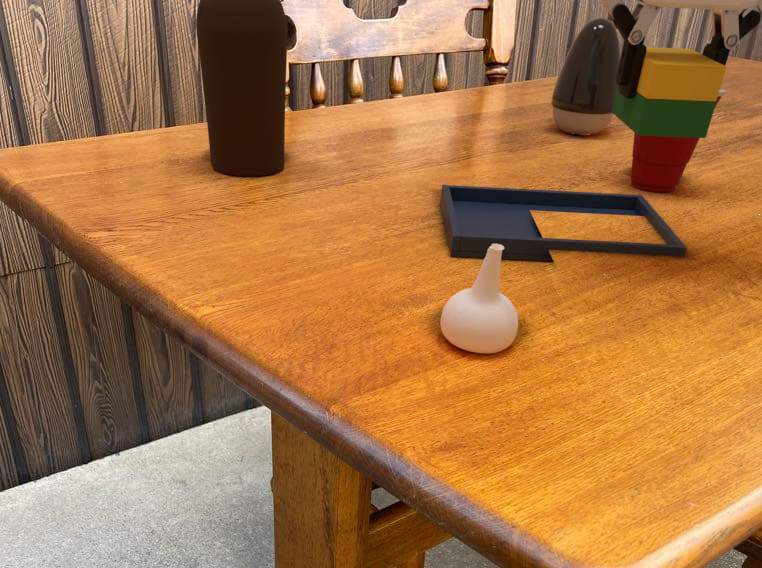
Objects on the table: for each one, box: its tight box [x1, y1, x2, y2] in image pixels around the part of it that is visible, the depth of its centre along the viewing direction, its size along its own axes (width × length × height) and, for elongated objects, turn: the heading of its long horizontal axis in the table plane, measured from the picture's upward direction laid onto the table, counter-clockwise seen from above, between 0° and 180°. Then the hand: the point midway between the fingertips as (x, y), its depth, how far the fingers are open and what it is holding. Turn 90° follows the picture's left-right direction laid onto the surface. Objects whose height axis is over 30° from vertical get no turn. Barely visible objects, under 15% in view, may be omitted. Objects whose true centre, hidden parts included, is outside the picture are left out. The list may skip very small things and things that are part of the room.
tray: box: [439, 184, 688, 263], centre depth 86 cm, size 24×18×2 cm
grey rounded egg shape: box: [550, 17, 622, 135], centre depth 120 cm, size 10×10×15 cm
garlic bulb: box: [440, 244, 519, 354], centre depth 62 cm, size 6×6×8 cm
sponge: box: [612, 46, 727, 139], centre depth 69 cm, size 9×6×5 cm, turn 0°
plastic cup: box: [630, 88, 727, 193], centre depth 99 cm, size 11×11×12 cm
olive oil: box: [195, 0, 289, 177], centre depth 93 cm, size 11×11×25 cm
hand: (664, 94), depth 69 cm, fingers closed on sponge, 6 cm apart
